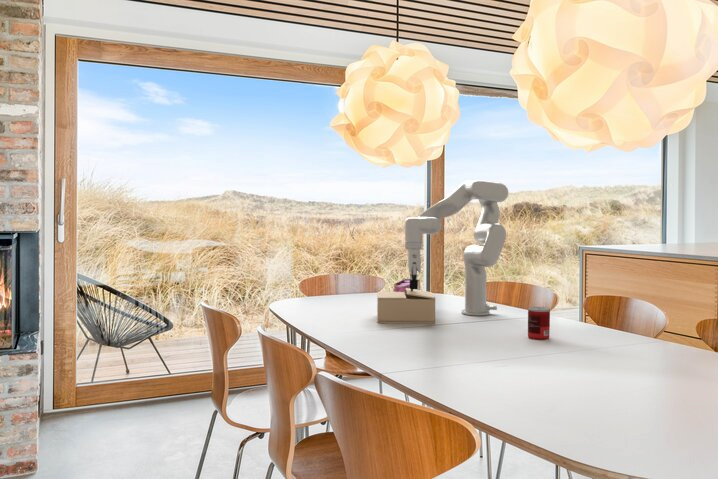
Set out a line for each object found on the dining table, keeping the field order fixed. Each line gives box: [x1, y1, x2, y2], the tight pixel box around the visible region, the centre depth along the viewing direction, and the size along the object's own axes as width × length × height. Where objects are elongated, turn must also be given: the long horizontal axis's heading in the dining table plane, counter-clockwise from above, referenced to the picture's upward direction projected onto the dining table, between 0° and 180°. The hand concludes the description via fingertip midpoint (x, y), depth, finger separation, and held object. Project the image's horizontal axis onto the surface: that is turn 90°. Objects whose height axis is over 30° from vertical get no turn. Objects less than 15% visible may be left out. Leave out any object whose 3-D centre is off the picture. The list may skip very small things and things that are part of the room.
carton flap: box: [406, 281, 436, 300], centre depth 245 cm, size 12×17×6 cm
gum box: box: [393, 278, 421, 294], centre depth 270 cm, size 24×8×14 cm, turn 161°
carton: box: [376, 291, 436, 324], centre depth 246 cm, size 24×18×11 cm
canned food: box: [527, 306, 551, 341], centre depth 209 cm, size 8×8×11 cm
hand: (413, 288), depth 245 cm, fingers closed on carton flap, 3 cm apart
